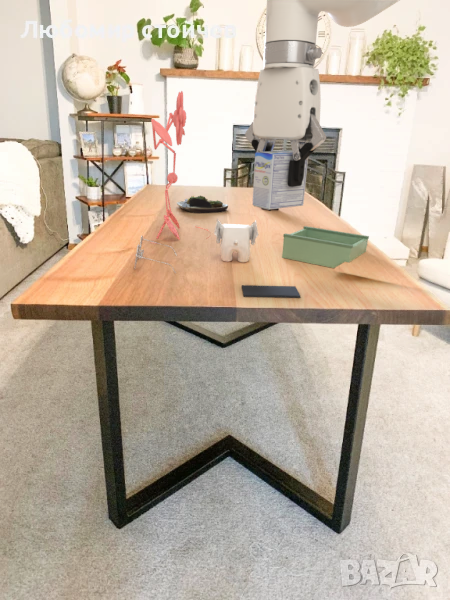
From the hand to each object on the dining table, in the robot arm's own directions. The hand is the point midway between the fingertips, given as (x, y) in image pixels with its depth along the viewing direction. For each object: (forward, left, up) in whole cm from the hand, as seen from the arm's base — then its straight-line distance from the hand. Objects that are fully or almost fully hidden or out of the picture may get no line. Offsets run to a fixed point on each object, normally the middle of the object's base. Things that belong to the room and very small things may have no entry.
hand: (279, 183), depth 73 cm
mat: (0, 0, -19) cm, 19 cm away
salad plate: (+60, -60, -19) cm, 87 cm away
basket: (+1, -28, -19) cm, 34 cm away
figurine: (+39, -24, -19) cm, 50 cm away
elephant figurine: (+17, -15, -19) cm, 30 cm away
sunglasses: (+27, 0, -19) cm, 34 cm away
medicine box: (0, 0, -4) cm, 4 cm away
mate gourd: (+42, -78, -19) cm, 91 cm away
